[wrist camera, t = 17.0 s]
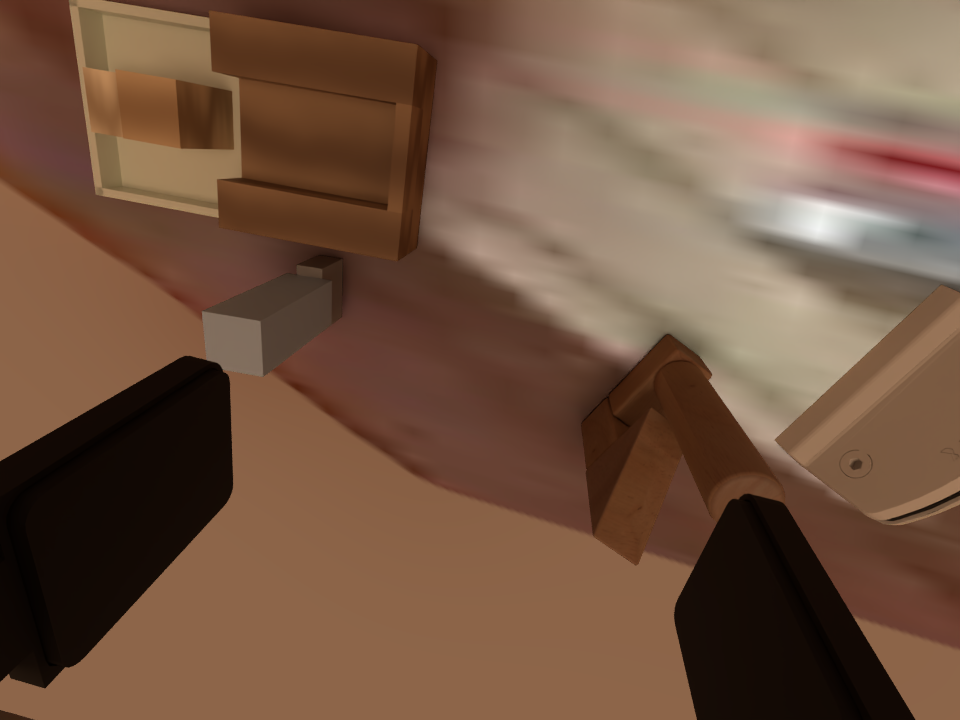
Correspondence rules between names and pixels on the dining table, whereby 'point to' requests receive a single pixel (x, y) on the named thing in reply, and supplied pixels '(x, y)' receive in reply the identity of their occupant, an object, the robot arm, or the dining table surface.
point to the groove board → (326, 135)
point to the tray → (164, 53)
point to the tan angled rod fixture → (665, 448)
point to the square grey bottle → (274, 317)
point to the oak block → (174, 112)
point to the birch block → (103, 101)
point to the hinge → (892, 421)
